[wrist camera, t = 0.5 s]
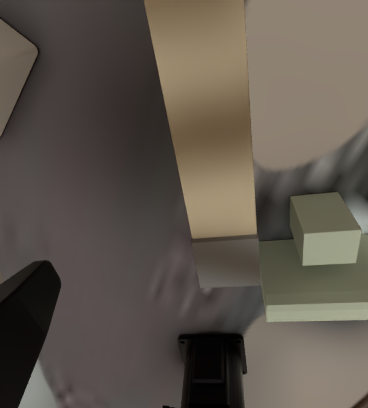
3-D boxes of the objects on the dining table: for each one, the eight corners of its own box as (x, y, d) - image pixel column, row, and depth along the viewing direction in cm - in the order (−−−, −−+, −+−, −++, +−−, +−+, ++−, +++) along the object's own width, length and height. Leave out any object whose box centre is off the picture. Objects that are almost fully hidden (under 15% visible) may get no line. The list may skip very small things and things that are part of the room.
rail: (252, 229, 22) (260, 285, 18) (204, 232, 23) (200, 287, 18) (231, -113, 12) (237, -178, 8) (148, -90, 13) (111, -138, 9)
